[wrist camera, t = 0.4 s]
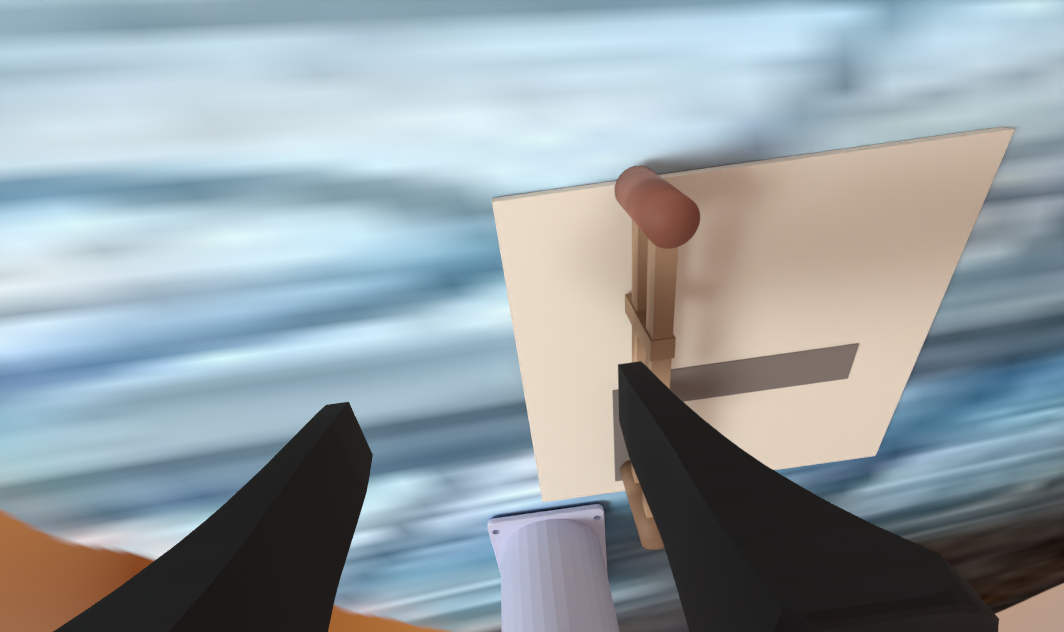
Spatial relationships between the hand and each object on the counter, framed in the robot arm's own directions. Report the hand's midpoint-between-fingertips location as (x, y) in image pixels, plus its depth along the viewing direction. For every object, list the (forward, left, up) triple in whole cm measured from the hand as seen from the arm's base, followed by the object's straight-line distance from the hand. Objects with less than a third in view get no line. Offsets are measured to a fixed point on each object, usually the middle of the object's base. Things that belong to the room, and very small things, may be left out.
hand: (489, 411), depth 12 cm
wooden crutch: (-2, -7, -9) cm, 11 cm away
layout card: (-7, -11, -10) cm, 17 cm away
